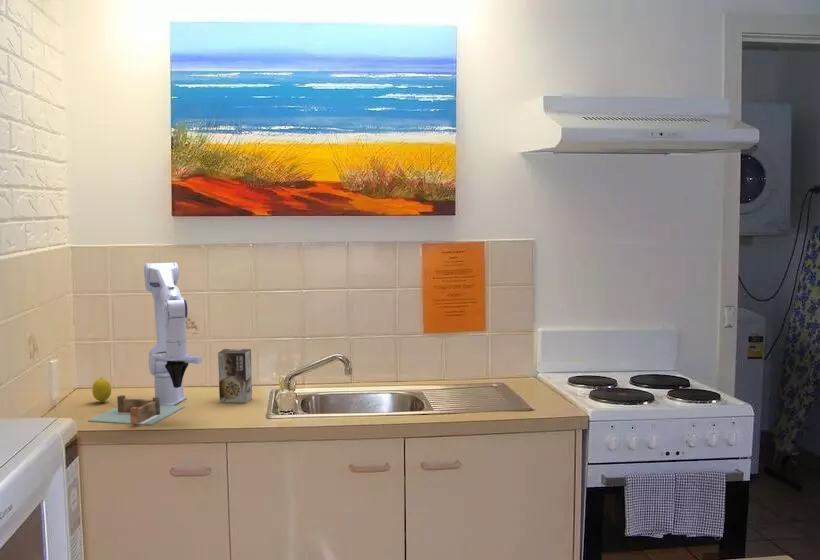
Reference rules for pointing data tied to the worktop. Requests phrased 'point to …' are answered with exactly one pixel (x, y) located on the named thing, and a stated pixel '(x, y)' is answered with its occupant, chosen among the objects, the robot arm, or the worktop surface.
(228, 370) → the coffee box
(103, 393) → the lemon
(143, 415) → the hinged fence panel
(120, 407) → the fixed fence section
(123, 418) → the card
